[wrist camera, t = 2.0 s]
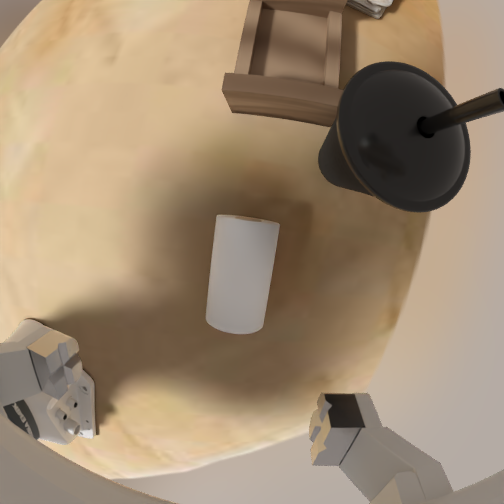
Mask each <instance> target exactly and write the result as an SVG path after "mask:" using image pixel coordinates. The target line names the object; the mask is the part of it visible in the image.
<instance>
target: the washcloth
mask: <svg viewBox="0 0 504 504" xmlns="http://www.w3.org/2000/svg"><path fill="white" fill-rule="evenodd" d="M392 2H393V0H347V2H346V5H348V6H350V7H352V8H354V9H357V10H359V11H361V12H363V13H365V14H367V15H369V16H371V17H374V18H376V19H379V18H380V17H381V16H382V14H383V12H384V11H385V9H386V7H389V6H391V4H392Z"/></svg>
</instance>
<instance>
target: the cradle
mask: <svg viewBox="0 0 504 504" xmlns="http://www.w3.org/2000/svg"><path fill="white" fill-rule="evenodd" d="M346 2H347V0H250V2H249V6H248V10H247V15H246V19H245V23H244V28H243V33H242V37H241V42H240V47H239V51H238V56H237V61H236V66H235V71H234V73H225V76H224V81H223V86H222V92H223V94H224V96H225V98H226V100H227V102H228V105H229V107H230V109H231V111H232V113H241V114H251V115H259V116H267V117H275V118H282V119H288V120H294V121H300V122H306V123H311V124H316V125H322V126H326V127H330V126H331V125H332V123H333V122H334V121H335V119H336V117H337V107H338V103H339V99H340V96H341V94H342V92H343V90H341V89H338V85H339V70H340V53H341V29H342V12H343V9H344V7H345V5H346Z"/></svg>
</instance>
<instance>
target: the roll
mask: <svg viewBox="0 0 504 504" xmlns="http://www.w3.org/2000/svg"><path fill="white" fill-rule="evenodd" d="M279 228H280V224H279V223H276V222H273V221H269V220H264V219H258V218H252V217H245V216H236V215H217V217H216V225H215V234H214V242H213V250H212V259H211V268H210V278H209V287H208V297H207V308H206V321H207V322H208V324H209V325H211V326H212V327H214V328H216V329H218V330H220V331H223V332H227V333H232V334H250V333H254V332H257V331H259V330H260V329H261V328H262V327H263V324H264V318H265V312H266V307H267V301H268V295H269V289H270V283H271V277H272V271H273V265H274V259H275V253H276V247H277V241H278V234H279Z"/></svg>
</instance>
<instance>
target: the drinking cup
mask: <svg viewBox="0 0 504 504" xmlns="http://www.w3.org/2000/svg"><path fill="white" fill-rule="evenodd" d="M503 111H504V89H502V88H499V89H496V90H494V91H491V92H488V93H486V94H483V95H481V96H479V97H476V98H474V99H471V100H469V101H466V102H464V103H462V104H459V105H457V104H456V102H455V101H454V99H453V98H452V97H451V95H450V94H449V93H448V91H447V90H446V89H445V88H444V87H443V86H442V85H441V84H440V83H439V82H438V81H437V80H436V79H434V78H433V77H432V76H430V75H429V74H427V73H426V72H424V71H422V70H420V69H419V68H416V67H414V66H411V65H408V64H405V63H401V62H379V63H374V64H371V65H369V66H366V67H364V68H363V69H361V70H360V71H358V72H357V73H356V74H355V75H354V76H353V77H352V78H351V79H350V80H349V82H348V83H347V85H346V86H345V88H344V90H343V92H342V94H341V96H340V99H339V103H338V107H337V117H336V119H335V121H334V123H333V125H332V127H331V129H330V131H329V133H328V135H327V137H326V139H325V141H324V143H323V145H322V147H321V149H320V152H319V156H318V163H319V168H320V170H321V173H322V174H323V176H324V177H325V178H326V179H327V180H328V181H329V182H330V183H332V184H334V185H336V186H339V187H342V188H346V189H350V190H354V191H357V192H361V193H365V194H368V195H372V196H375V197H376V198H377V199H379V200H381V201H382V202H384V203H385V204H387V205H389V206H391V207H394V208H396V209H400V210H403V211H409V212H428V211H432V210H435V209H438V208H440V207H442V206H444V205H445V204H447V203H448V202H449V201H450V200H451V199H453V198H454V196H455V195H456V194H457V193H458V192H459V190H460V189H461V187H462V185H463V183H464V181H465V179H466V176H467V173H468V169H469V164H470V140H469V134H468V130H467V126H466V122H469V121H472V120H475V119H479V118H482V117H486V116H489V115H492V114H496V113H499V112H503Z"/></svg>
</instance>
